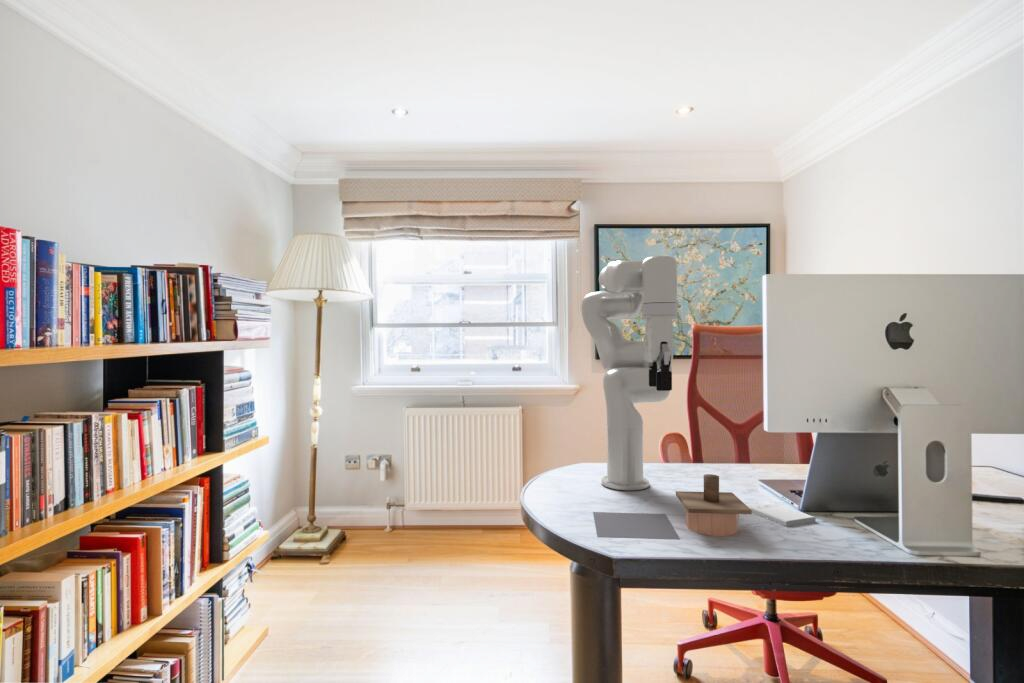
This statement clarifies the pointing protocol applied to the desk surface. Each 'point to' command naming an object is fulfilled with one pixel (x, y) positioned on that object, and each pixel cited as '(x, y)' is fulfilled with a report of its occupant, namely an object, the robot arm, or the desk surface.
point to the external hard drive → (780, 513)
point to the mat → (634, 525)
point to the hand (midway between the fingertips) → (659, 388)
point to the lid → (712, 499)
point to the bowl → (713, 523)
